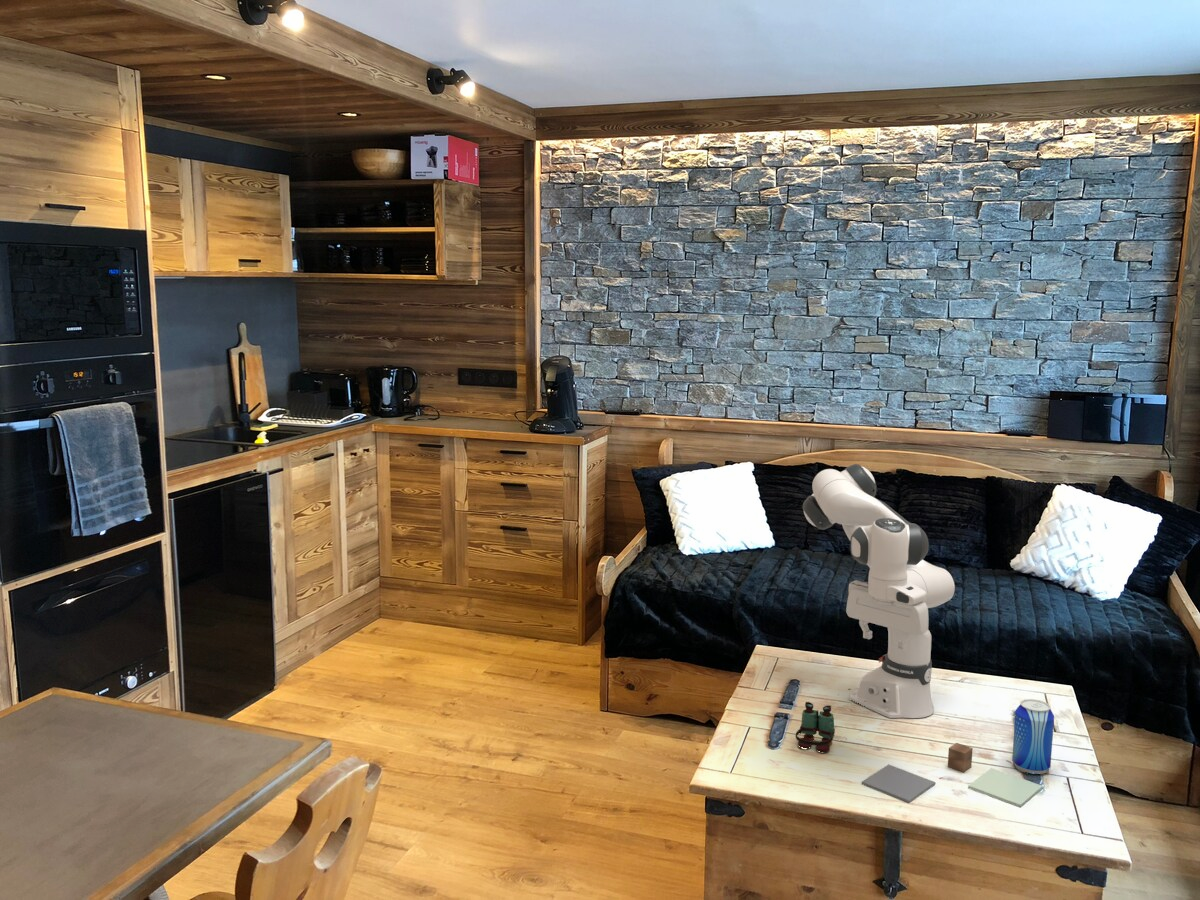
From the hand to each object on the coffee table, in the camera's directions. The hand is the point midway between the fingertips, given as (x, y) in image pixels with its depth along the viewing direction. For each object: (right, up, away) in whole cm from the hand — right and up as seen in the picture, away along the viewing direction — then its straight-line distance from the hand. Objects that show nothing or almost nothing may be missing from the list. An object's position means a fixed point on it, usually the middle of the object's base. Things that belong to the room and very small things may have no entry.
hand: (884, 643), depth 232 cm
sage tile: (+25, -31, -10) cm, 41 cm away
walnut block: (+18, -30, 0) cm, 35 cm away
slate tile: (+1, -31, -8) cm, 32 cm away
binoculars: (-14, -29, +11) cm, 34 cm away
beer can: (+35, -30, 0) cm, 46 cm away
